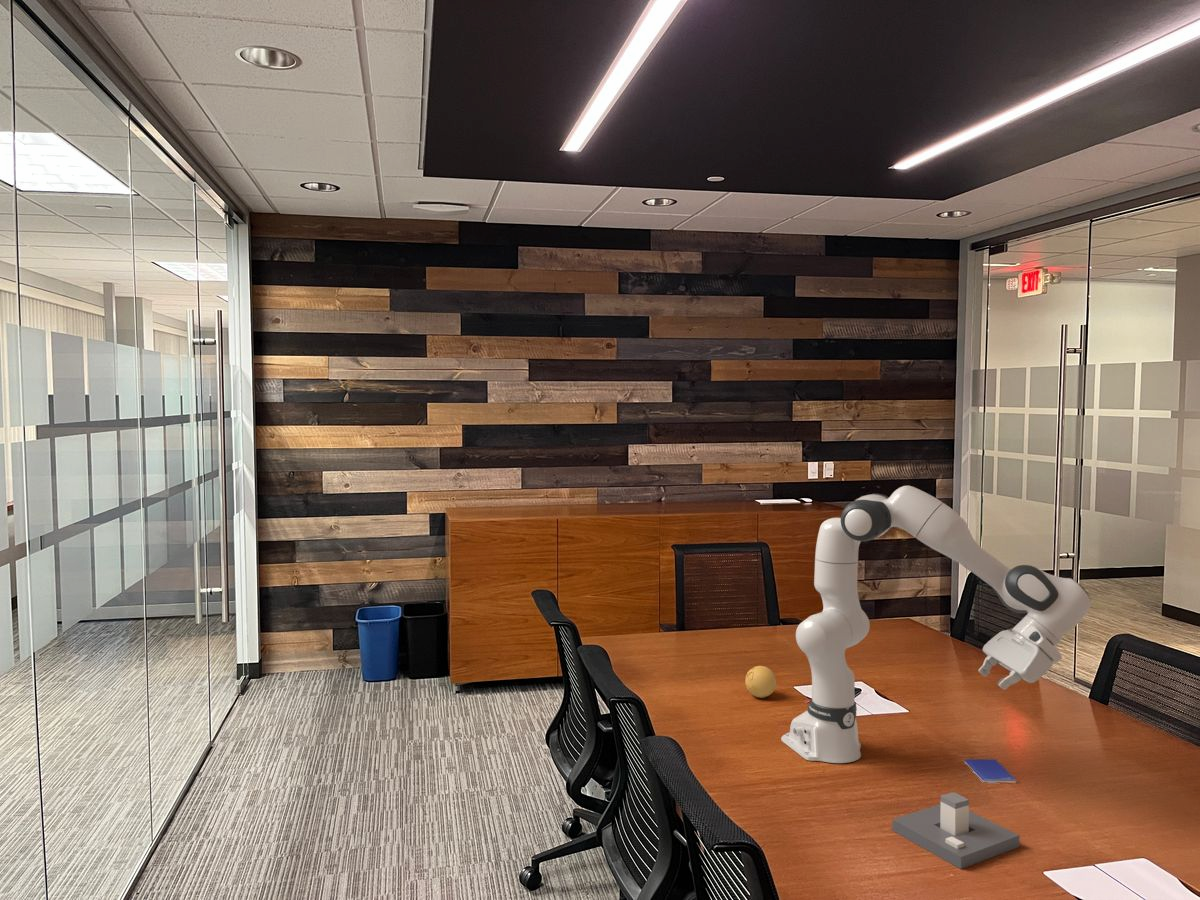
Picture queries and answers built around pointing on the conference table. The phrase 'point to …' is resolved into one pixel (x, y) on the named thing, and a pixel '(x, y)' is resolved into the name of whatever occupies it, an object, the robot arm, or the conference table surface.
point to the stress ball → (760, 681)
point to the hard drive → (990, 770)
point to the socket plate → (961, 849)
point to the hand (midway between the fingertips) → (990, 680)
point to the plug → (954, 814)
